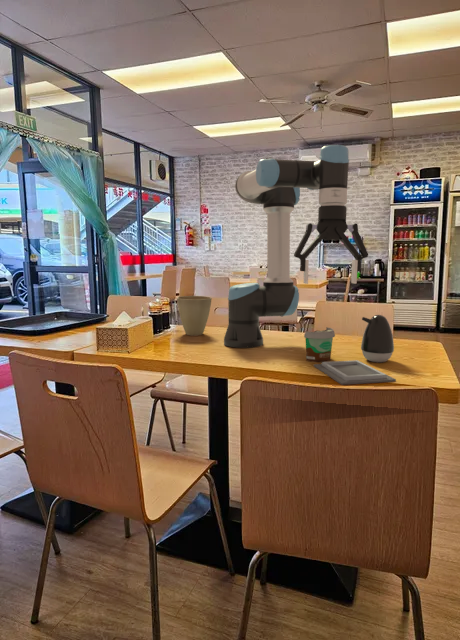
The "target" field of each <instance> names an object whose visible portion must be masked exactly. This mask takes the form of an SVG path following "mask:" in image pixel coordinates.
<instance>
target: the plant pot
mask: <svg viewBox="0 0 460 640" xmlns="http://www.w3.org/2000/svg"><path fill="white" fill-rule="evenodd" d="M176 301H177V307H178V308H177V309H178V312H179V313H178V314H179V316H180V317H179V318H180V321H181V325H182V327H183V330H184V333H185V335H187V336H194V337H195V336H202V335H203V334H204V332H205V329H206V326H207V323H208V319H209V315H210V311H211V305H212V297H211V296H203V295H188V296H187V295H186V296H183V295H182V296H177V297H176Z"/></svg>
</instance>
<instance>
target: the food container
mask: <svg viewBox="0 0 460 640" xmlns="http://www.w3.org/2000/svg"><path fill="white" fill-rule="evenodd" d="M303 335H304V336H303V338H304V339H305V353H306V354H305V355H306V356H305V358H306V360H305V361H306V362H311V363H322V362H330V361H331V356H332V347H333V338H335V337H336V333H335V330H334V328H332V327H326V329H323V330H315V331H309V330H308V331H305V333H304V334H303Z"/></svg>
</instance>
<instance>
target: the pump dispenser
mask: <svg viewBox="0 0 460 640" xmlns="http://www.w3.org/2000/svg"><path fill="white" fill-rule="evenodd" d="M361 320H362V321H363V322H365V323H367V325H366V327H365V328H364V332H363V335H362V338H361V339H362V340H361V345H360V350H361V352H362V356H363V357H364V358H365V359H366V360H367V361H369V362H372V363H385V362H387V361H389V360H390V358H392V356H393V353H394V351H395V350H394V349H395V343H394V336H393V332H392V331H393V330H392V328H391V325H390V322H389V321H388V319H387V318H386V317H385V316H384V315H382V314H375V315H373V316H372V317H371V318H368V317H365V316H362V317H361Z"/></svg>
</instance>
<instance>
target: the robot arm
mask: <svg viewBox="0 0 460 640" xmlns="http://www.w3.org/2000/svg"><path fill="white" fill-rule="evenodd" d="M319 152H320V153H319V159H318V160H297V159H277V158H273V157H272V158H262V159H260V160H258V162H257V165H256V168H255V170H246V171H244V172H243V173H241V174H239V176H238V177H237V178H236V180H235V185H234V188H235V189H234V190H235V192H236V194H237V196H238V197H239V198H240V199H241V200H242V201H245V202H246V203H250V204H253V205H257V204H258V205H263V207H262V209H263V211H264V212H265V213H266V216H267V217H266V218H267V224H266V225H267V226H266V228H267V233H266V235H267V240H266V241H267V246H266V247H267V248H266V251H267V252H266V253H267V254H266V255H267V256H266V257H267V258H266V264H267V266H266V268H267V269H266V278H265V279H264V280H263V285H262V286H260V283H258V282H248V283H246V282H244V283H238V284H236V285H232V286H230V287H229V288H228V295H227V300H228V307H227V309H228V324H227V328H226V331H225V333H224V337H223V345H224V346H226V347H231V348H240V349H247V348H248V349H249V348H259V347H261V346H263V345H264V337H263V334H262V331H261V327H260V323H259V321H260V317H262V318H263V317H285V316H286V317H288V316H292V315H293V314H294V313H295V312H296V311H297V308H298V306H299V301H300V292H299V288H298V286H296V285H294V280H293V279H292V278H291V277H290V271H291V270H290V268H291V267H290V265H291V264H290V262H291V261H290V260H291V259H290V258H291V255H290V253H291V246H290V245H291V238H290V237H291V235H290V234H291V232H290V231H291V213H292V212H293V211H294V209H295V206H296V205H297V204H299V202H300V197H301V189H304V188H305V189H308V190H310V191H314V190H316V191H318V205H319V207H318V216H317V217H318V219H317V224H313V223H307V224H306V226H305V227H306V228H305V232H304V234H303V236H302V238H301V240H300V242H299V243H298V246H297V248H296V250H295V252H294V253H293V257H294V258H297V259H299V261H300V264H299V265H300V266H299V269H300V272H303V281H302V282H303V284H305V285H306V284H309V266H310V265H309V259H307V258H308V257H309V256H310V255H311V253H313V251H314V249H316V248H317V246H318V245H319V244H320V243H321V242H322V241H323V240H324V241H331V240H332V241H340V242H341V243H342V244H343V246H344V247H345V248H346V249H347V251H348V252H349V253H350V254H351V255H352V256H353V258H354V259H352V261H351V275H350V277H351V278H350V283H351V284H355V285H356V284H357V282H358V281H357V280H358V272H361V269H362V268H361V267H362V260H363V259H366V258H368V257H369V253H368V251H367V249H366V245H365V244H364V242H363V240H362V238H361V235H360V233H359V225H358V223H351V224H347V211H348V209H347V206H346V205H347V203H348V182H349V166H350V165H349V164H350V158H349V147H347V146H346V145H342V144H331V145H324V146H323V147H321V149H320V151H319ZM300 188H301V189H300ZM315 230H316V232H317V233H318V234H317V236H316V237H315V239H314V240H313V241H312V242H311V243H310V245H309V246H308V247H307V248H306V249H305V251H303V250H304V247H305V246H306V244H307V242H308V240H309V239H310V237H311V234H312V233H313V232H315ZM347 230H348V231H349V232H350V233H351V235H352V238H353V241H354V242H355V243H354V244H355V245H356V248H357V249H356V248H355V246H354V245H353V243H352V242H351V241H350V240H349V238H348V237H347V235H346V234H345V232H347ZM302 252H303V253H302Z"/></svg>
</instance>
